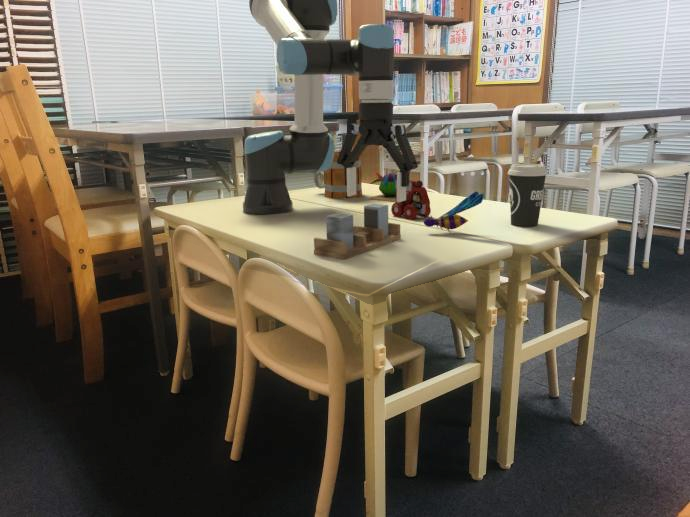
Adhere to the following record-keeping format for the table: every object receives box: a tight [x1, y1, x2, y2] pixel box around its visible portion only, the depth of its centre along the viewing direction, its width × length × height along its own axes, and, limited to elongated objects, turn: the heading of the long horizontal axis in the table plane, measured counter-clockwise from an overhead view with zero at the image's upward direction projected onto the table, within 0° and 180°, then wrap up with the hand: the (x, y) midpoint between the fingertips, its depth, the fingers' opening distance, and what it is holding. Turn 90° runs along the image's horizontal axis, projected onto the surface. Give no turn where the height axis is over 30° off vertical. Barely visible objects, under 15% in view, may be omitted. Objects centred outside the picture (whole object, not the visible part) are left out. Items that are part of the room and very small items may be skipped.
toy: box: [423, 190, 485, 233], centre depth 130 cm, size 7×14×10 cm, turn 95°
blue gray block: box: [363, 203, 389, 236], centre depth 126 cm, size 4×5×7 cm
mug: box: [313, 150, 363, 199], centre depth 191 cm, size 20×14×15 cm
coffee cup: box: [507, 163, 549, 228], centre depth 137 cm, size 10×10×15 cm
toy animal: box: [368, 170, 397, 203], centre depth 182 cm, size 11×15×10 cm
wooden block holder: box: [313, 212, 402, 260], centre depth 121 cm, size 8×22×8 cm, turn 143°
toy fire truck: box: [390, 179, 432, 220], centre depth 152 cm, size 7×12×10 cm, turn 37°
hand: (375, 198), depth 125 cm, fingers open, 13 cm apart
